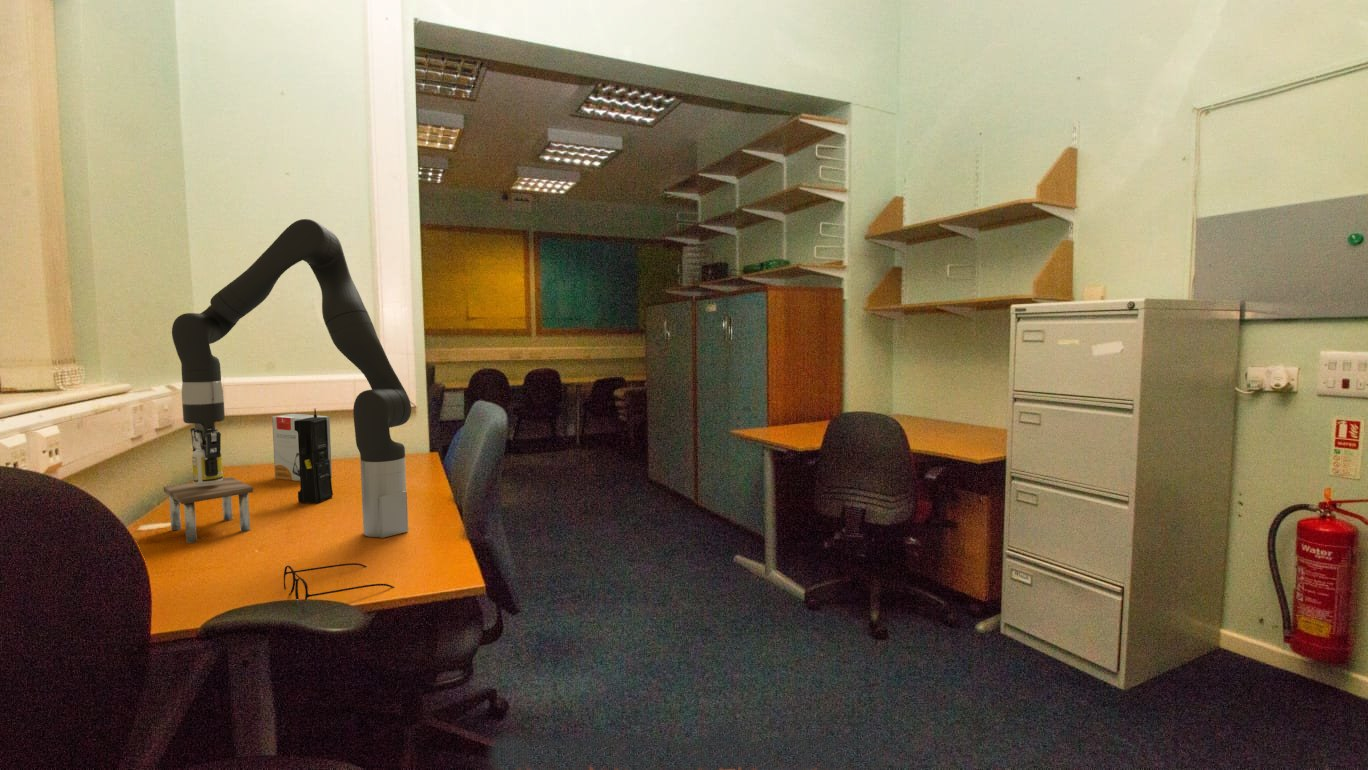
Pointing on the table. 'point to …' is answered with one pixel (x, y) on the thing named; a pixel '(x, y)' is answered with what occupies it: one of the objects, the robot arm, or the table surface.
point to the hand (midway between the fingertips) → (207, 473)
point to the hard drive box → (290, 446)
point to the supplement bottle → (199, 468)
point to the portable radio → (313, 460)
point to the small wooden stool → (206, 492)
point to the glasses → (323, 592)
